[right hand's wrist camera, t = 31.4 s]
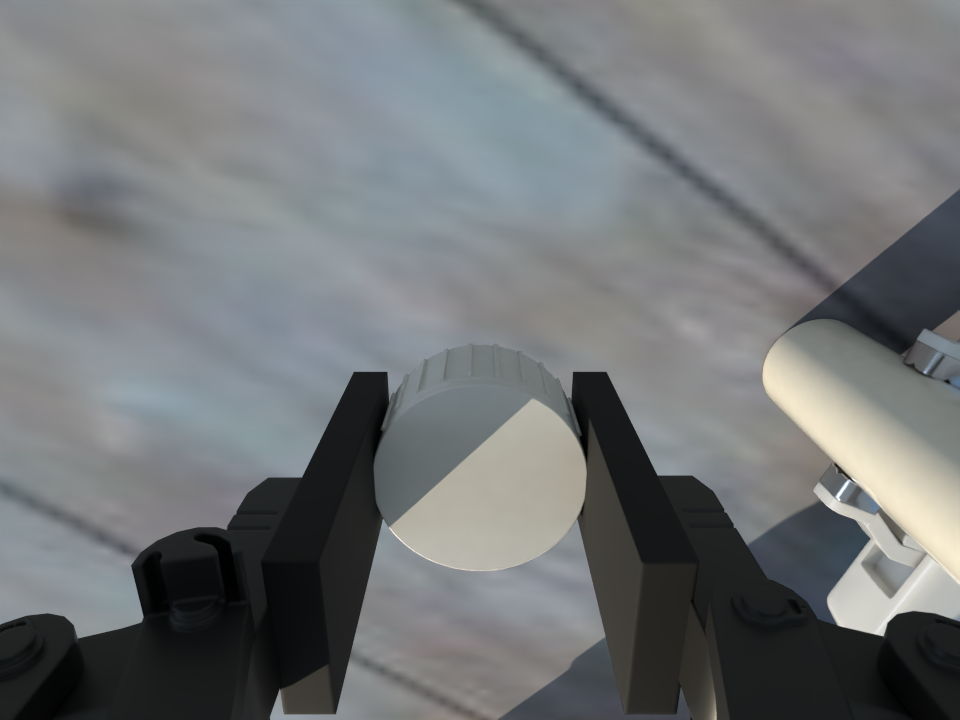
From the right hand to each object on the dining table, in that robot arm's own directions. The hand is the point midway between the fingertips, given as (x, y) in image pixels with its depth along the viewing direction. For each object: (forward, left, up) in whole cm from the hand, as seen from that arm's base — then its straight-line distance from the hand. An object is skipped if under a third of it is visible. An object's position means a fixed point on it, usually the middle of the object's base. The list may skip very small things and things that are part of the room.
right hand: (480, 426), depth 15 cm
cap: (0, 0, +2) cm, 2 cm away
